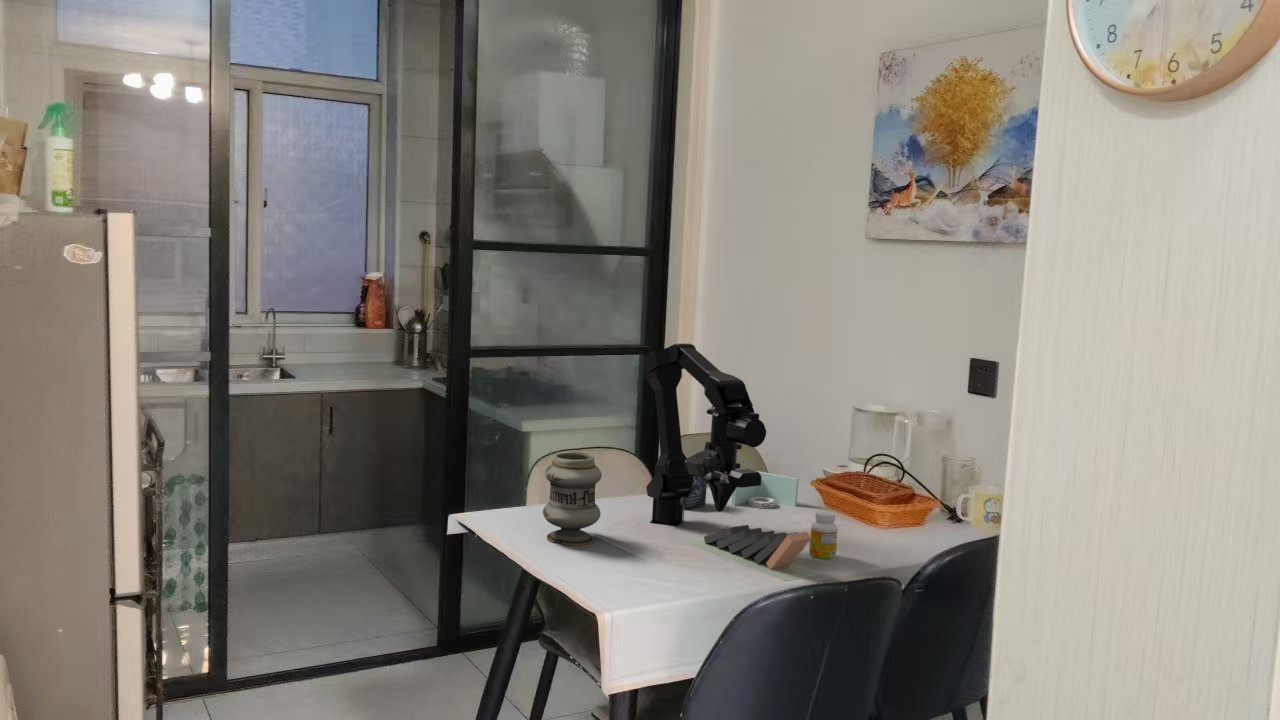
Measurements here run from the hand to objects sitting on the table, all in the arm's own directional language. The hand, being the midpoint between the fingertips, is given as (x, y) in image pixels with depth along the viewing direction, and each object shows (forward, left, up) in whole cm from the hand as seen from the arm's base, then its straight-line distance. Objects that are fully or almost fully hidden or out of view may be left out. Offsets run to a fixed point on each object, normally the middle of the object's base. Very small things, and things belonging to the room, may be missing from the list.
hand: (719, 511), depth 222 cm
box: (-13, +33, -8) cm, 36 cm away
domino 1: (-1, +1, -6) cm, 6 cm away
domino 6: (+14, -12, -6) cm, 19 cm away
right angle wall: (+5, +42, -8) cm, 43 cm away
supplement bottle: (+22, 0, -8) cm, 23 cm away
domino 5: (+11, -9, -6) cm, 16 cm away
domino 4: (+8, -7, -6) cm, 12 cm away
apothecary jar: (-30, -8, -8) cm, 32 cm away
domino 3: (+5, -4, -6) cm, 9 cm away
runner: (+8, -7, -8) cm, 13 cm away
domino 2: (+2, -2, -6) cm, 7 cm away
